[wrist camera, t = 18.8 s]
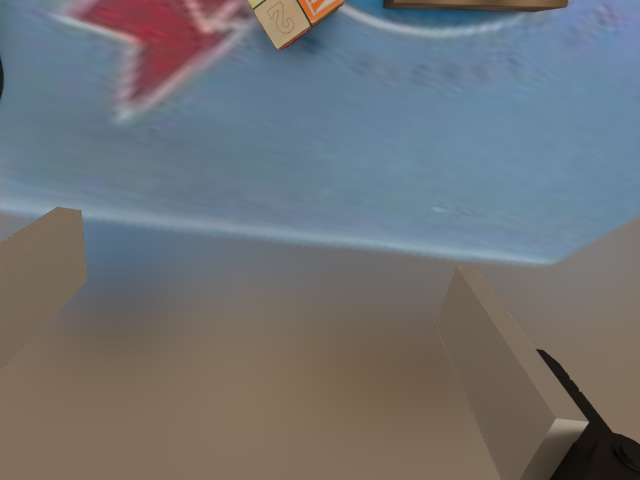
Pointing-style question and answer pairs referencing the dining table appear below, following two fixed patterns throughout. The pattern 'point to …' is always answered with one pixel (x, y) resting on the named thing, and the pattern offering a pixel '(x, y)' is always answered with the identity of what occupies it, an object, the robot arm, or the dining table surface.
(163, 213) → the dining table surface
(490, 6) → the walnut base block
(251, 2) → the stack of blocks
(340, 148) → the dining table surface
